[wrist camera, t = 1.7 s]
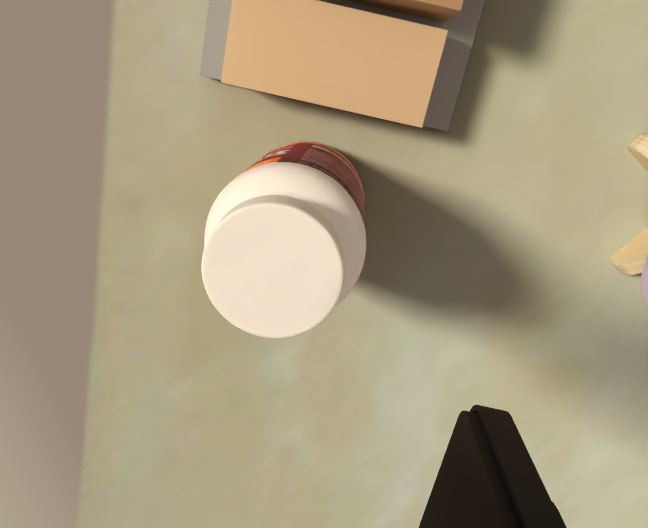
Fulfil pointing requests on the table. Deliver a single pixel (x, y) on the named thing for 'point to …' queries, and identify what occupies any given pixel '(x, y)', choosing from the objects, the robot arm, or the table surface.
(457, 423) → the robot arm
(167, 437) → the table surface
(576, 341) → the table surface
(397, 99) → the stand
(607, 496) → the table surface
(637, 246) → the toy table
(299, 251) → the pill bottle
